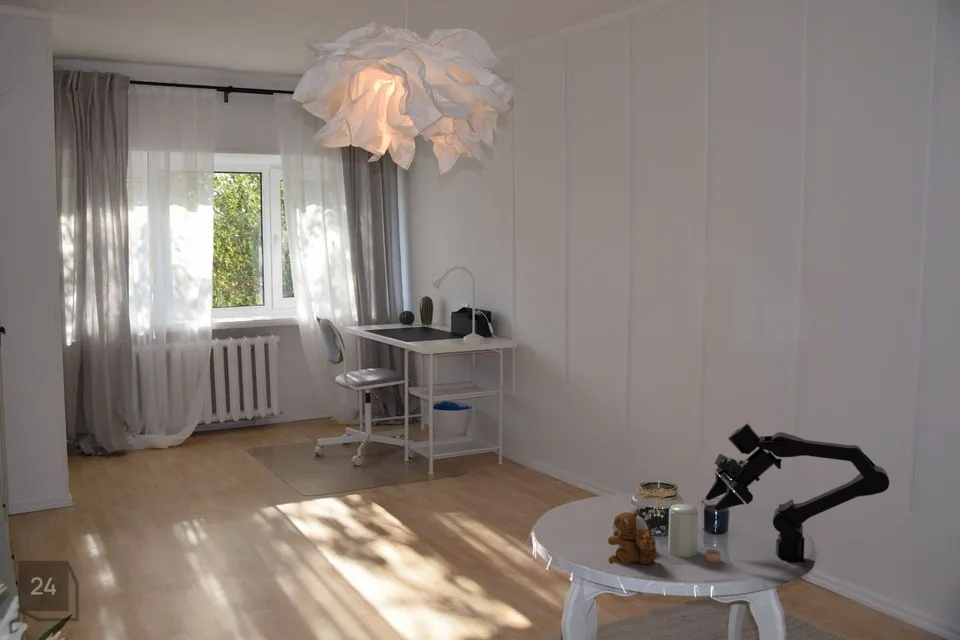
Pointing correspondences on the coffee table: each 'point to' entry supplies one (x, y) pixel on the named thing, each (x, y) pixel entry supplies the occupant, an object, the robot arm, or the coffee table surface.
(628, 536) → the stuffed squirrel
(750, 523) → the coffee table surface
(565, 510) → the coffee table surface
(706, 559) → the pinch bowl
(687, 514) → the pale green faceted cylinder
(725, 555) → the slate mat
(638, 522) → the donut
